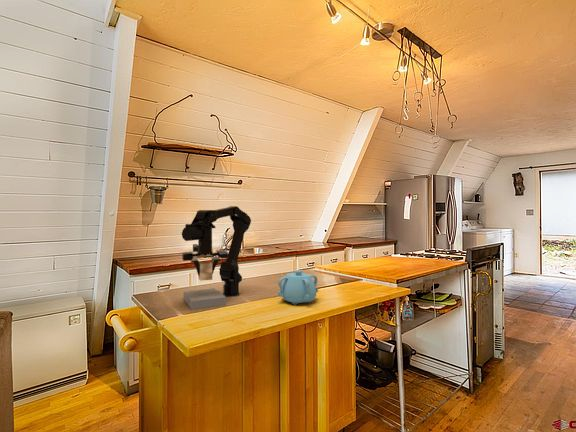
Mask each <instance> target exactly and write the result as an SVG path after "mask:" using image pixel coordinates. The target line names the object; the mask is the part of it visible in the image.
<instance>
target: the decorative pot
mask: <svg viewBox="0 0 576 432" xmlns="http://www.w3.org/2000/svg"><path fill="white" fill-rule="evenodd" d="M313 278H314V280H313ZM317 285H318V277H317V276H316V275H315V274H309V273H305V272H303V270H302V269H301V270H300V269H296V270H294V272H290V273H286V275H285V276H282V277H281V278H279V280H278V287H279V290H278V292H277V296H278V297H280V298H283V299H284V301H287V302H289V303H291V305H298V304H302V303H305V304H306V303H307V304H311V303H312V302H313V301H314V300H315V299H316V297H317V293H318V292H319V289H318V287H317Z"/></svg>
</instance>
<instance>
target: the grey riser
mask: <svg viewBox="0 0 576 432" xmlns="http://www.w3.org/2000/svg"><path fill="white" fill-rule="evenodd" d="M183 301H184V302H185V303H186V305H187V307H189V309H190V310H191V311H195V310H202V309H204V310H205V309H210V308H217V307H225V306H226V305H227V296H225V294H224V293H222V292H220V291H219V290H217V289H216V288H215V287H213V288H203V289H193V290H186V291H183Z"/></svg>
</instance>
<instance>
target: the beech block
mask: <svg viewBox="0 0 576 432" xmlns="http://www.w3.org/2000/svg"><path fill="white" fill-rule="evenodd" d="M199 270H200V276H198V280H199V281H201V282H203V281H211V280H213V274H212V261H199Z"/></svg>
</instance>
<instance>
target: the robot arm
mask: <svg viewBox="0 0 576 432" xmlns="http://www.w3.org/2000/svg"><path fill="white" fill-rule="evenodd" d="M226 217H229V219H230V220H231V222H232V227H233V234H232V238H231V242H230V246H229V250H228V251H226V250H225V249H224V250H216V252H213V229H216V227H217V226H215V225H214V224H213V223H214V222H216V221H217V220H219V219H221V218H226ZM251 224H252V218H251V217H250V216H249V215H248V213H247V212H245V211H243V210H242V209H240V207H239V206H235V205H233V206H232V205H229V206H228V207H223V208H218V209H198V210H197V211H196V213H195V216H194V218H193V220H192V221H191V223H186V224H185V227H183V229H182V232H181V236H182V239H183V240H184V241H185V242H188V241H189V242H190V241H191V242H192V241H197V242H198V243H193V244H192V251H188V252H187V251H186V252H182V253H181V259H182V261H184V262H185V261H189V262H190V263H193V265H194V267H195V270H196V273H197V275H198V277H199V276H200V270H199V262H200V261H199V260H198V259H203V258H211V263H212V275H214V271H215V269H216V266H217V265H218V263H219V261H221V260H222V259H226V260H225V261H221V263H220V266H219V269H218V271H219V275H220V276H219V277H220V280H221V282H224V284H222V290H223V292H222V294H223V295H224V296H225V297H231V296H232V297H233V296H240V293H239V289H240V288H239V286H240V284H239V283H240V282H242V281H243V276H242V274H240V272H239V270H240V269H239V268H240V267H239V264H238V259H239V256H240V253H241V252H240V251H241V247H242V243H243V239H244V236H245V233H246V232H247V231H248V230H249V227H250V226H251ZM195 252H196V253H195Z"/></svg>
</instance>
